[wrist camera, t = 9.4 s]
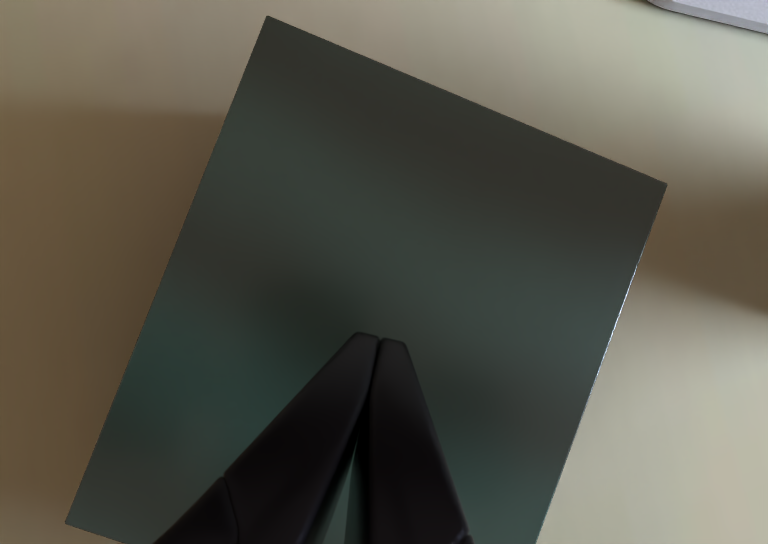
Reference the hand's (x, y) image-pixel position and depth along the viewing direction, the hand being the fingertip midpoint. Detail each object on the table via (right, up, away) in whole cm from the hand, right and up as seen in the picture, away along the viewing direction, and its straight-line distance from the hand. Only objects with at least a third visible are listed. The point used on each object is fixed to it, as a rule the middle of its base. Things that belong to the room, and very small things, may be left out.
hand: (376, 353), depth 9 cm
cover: (0, 0, +5) cm, 5 cm away
